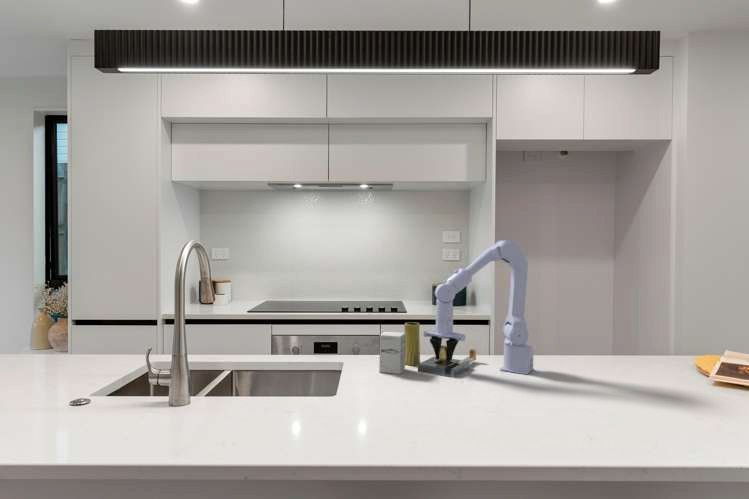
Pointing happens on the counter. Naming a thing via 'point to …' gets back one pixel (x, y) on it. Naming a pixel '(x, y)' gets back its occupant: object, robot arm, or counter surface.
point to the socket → (443, 367)
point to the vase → (412, 344)
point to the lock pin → (470, 358)
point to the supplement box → (392, 352)
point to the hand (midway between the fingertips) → (443, 359)
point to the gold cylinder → (443, 355)
